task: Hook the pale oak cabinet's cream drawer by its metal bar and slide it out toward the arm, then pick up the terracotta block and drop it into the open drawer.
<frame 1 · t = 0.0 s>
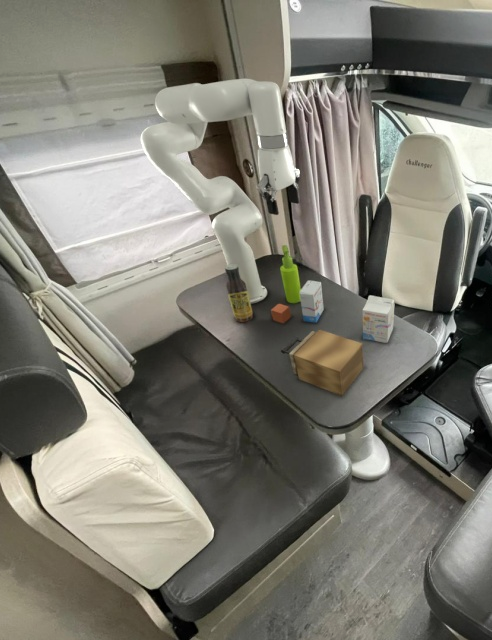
hand: (284, 208, 106), 37 cm above the table, tool pointing down, fingers open, 9 cm apart
soap dispenser: (294, 298, 137), on the table
ink box 2: (378, 334, 121), on the table
ink box: (314, 316, 129), on the table
block: (282, 318, 127), on the table
sauce bottle: (245, 318, 128), on the table
cabinet: (331, 373, 107), on the table
drawer: (314, 356, 106), point 5 cm above the table, slide at 1.0 cm
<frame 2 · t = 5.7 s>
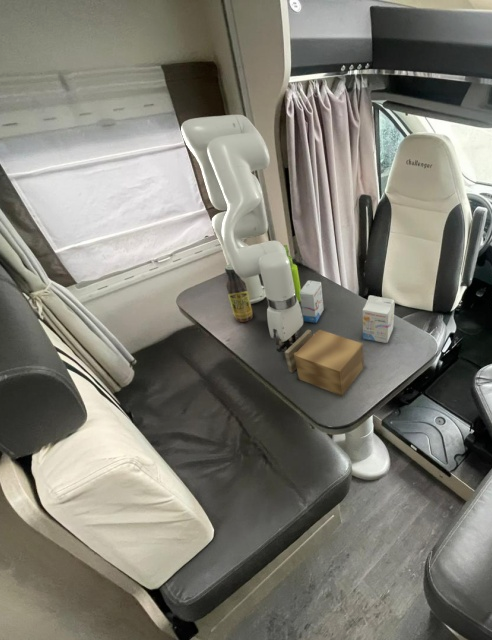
hand: (293, 350, 109), 4 cm above the table, tool pointing down, fingers closed
drawer: (310, 354, 106), point 5 cm above the table, slide at 2.6 cm, touching gripper
everything else where it was.
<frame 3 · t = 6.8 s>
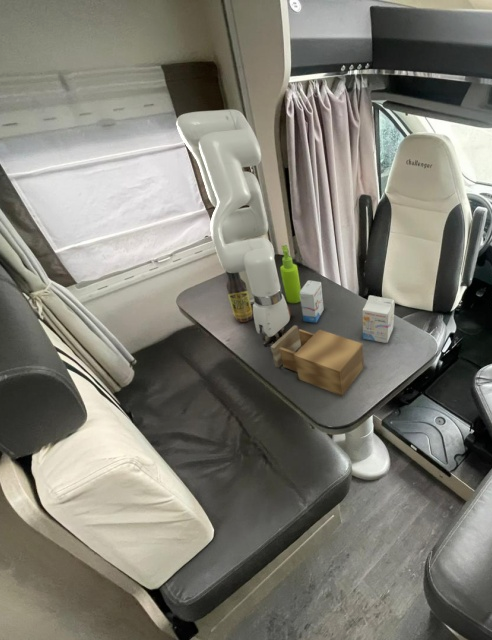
hand: (279, 346, 111), 4 cm above the table, tool pointing down, fingers closed
drawer: (296, 349, 108), point 5 cm above the table, slide at 7.5 cm, touching gripper
everything else where it was.
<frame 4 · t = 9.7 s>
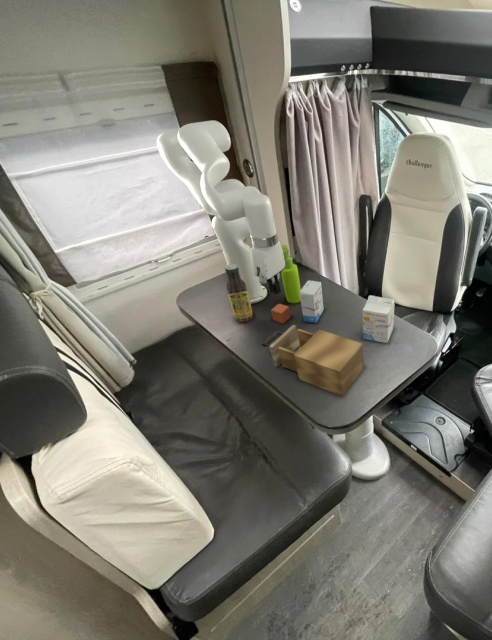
hand: (275, 292, 120), 11 cm above the table, tool pointing down, fingers closed
drawer: (295, 349, 108), point 5 cm above the table, slide at 8.0 cm
everything else where it was.
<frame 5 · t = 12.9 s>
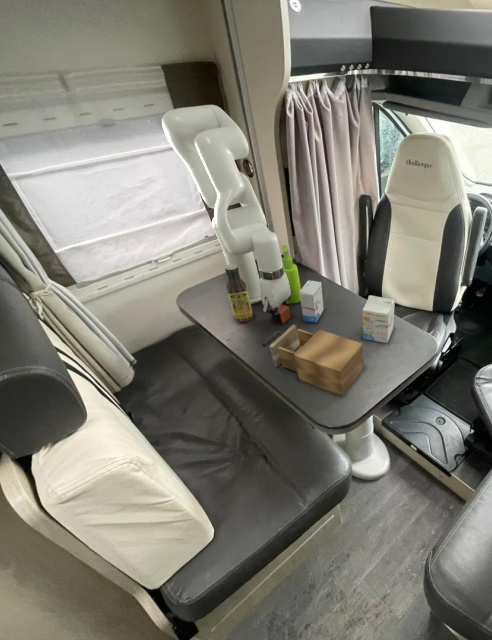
hand: (282, 317, 127), 0 cm above the table, tool pointing down, fingers closed on block, 4 cm apart
block: (282, 318, 127), on the table, touching gripper
everything else where it was.
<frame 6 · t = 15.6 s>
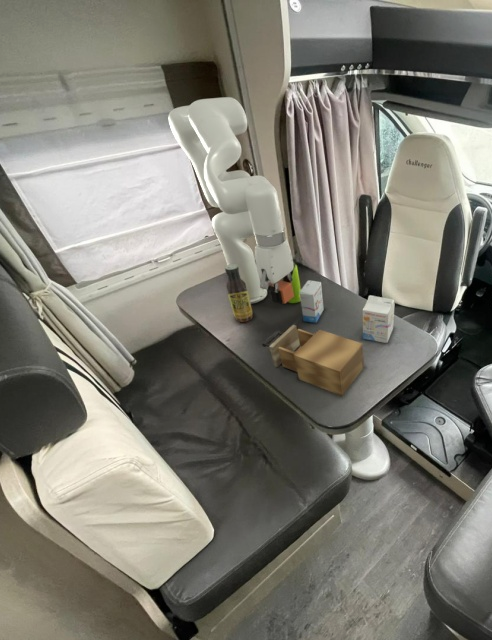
hand: (283, 297, 105), 18 cm above the table, tool pointing down, fingers closed on block, 4 cm apart
block: (283, 298, 105), point 18 cm above the table, touching gripper
everything else where it was.
when the fingers open (9 cm above the table, at t = 18.6 s): block drops 7 cm, resting on drawer.
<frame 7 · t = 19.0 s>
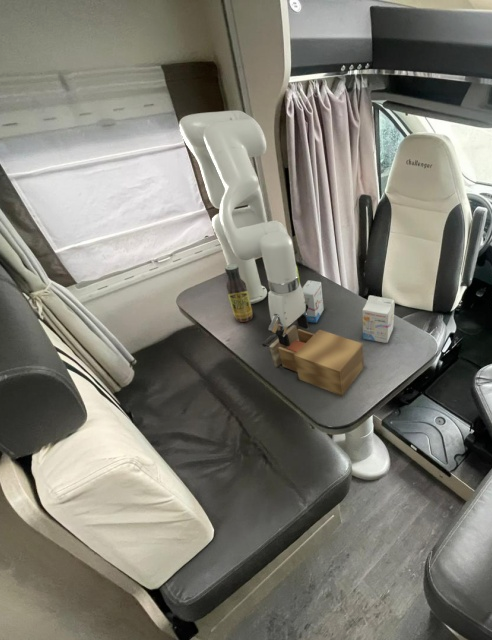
hand: (294, 335, 104), 10 cm above the table, tool pointing down, fingers open, 8 cm apart
block: (298, 356, 110), point 2 cm above the table, touching drawer
drawer: (295, 349, 108), point 5 cm above the table, slide at 8.0 cm, touching block
everything else where it was.
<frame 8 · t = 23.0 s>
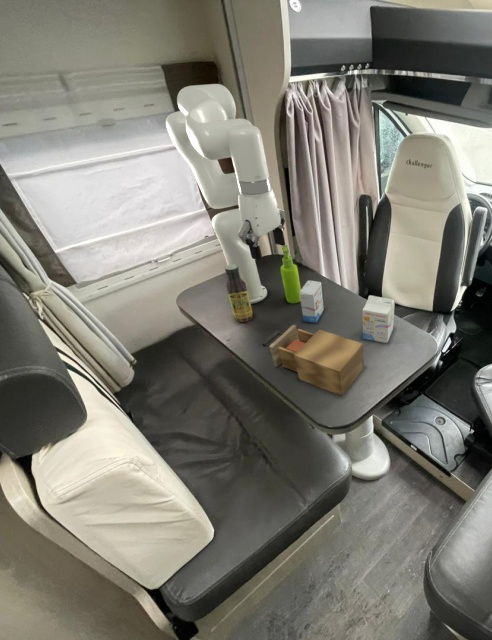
hand: (269, 251, 99), 30 cm above the table, tool pointing down, fingers open, 9 cm apart
nothing on the table moved.
at the end: drawer slide at 8.0 cm; block inside the target area in the drawer (2.0 cm from its centre), point 2.0 cm above the cabinet's base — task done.
